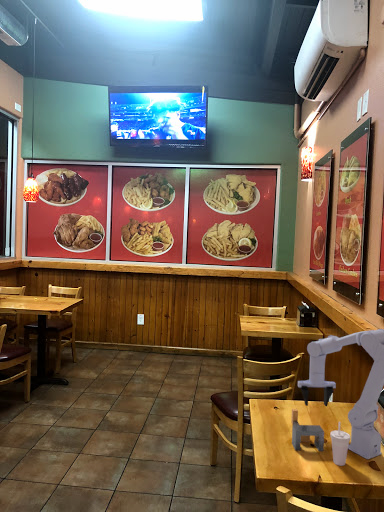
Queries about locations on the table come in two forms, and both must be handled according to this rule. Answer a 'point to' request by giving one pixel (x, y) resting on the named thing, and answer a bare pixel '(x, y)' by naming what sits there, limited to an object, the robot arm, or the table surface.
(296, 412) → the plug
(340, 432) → the smoothie
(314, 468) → the table surface
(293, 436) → the housing
